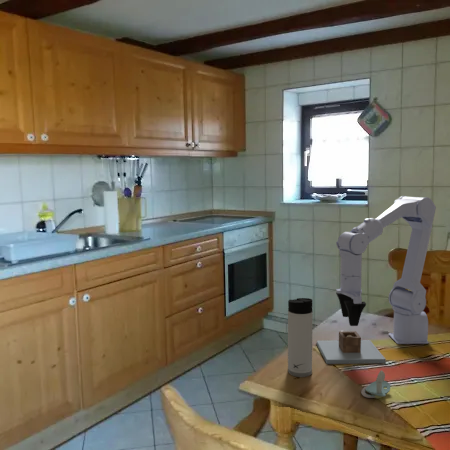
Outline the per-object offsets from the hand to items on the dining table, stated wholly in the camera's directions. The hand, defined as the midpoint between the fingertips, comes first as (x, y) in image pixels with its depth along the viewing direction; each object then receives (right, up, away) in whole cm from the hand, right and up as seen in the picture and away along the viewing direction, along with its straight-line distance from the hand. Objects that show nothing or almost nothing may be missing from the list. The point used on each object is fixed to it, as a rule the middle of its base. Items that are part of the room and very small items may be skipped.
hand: (350, 321), depth 133 cm
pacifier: (0, -13, -23) cm, 27 cm away
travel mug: (-16, -11, -11) cm, 23 cm away
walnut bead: (0, -8, 0) cm, 8 cm away
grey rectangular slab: (0, -9, 0) cm, 9 cm away
